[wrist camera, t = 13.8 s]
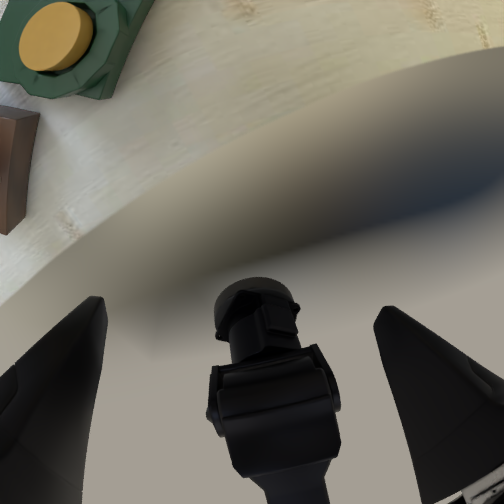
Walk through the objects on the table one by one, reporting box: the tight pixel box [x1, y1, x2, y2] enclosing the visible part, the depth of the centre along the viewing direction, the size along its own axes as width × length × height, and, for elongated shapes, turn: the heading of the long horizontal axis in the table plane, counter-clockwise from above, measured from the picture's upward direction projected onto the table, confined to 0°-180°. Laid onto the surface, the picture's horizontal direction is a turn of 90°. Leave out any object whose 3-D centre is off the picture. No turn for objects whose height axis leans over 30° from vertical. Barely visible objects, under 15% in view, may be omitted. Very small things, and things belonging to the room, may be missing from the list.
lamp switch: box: [19, 2, 93, 71], centre depth 8 cm, size 4×4×2 cm
